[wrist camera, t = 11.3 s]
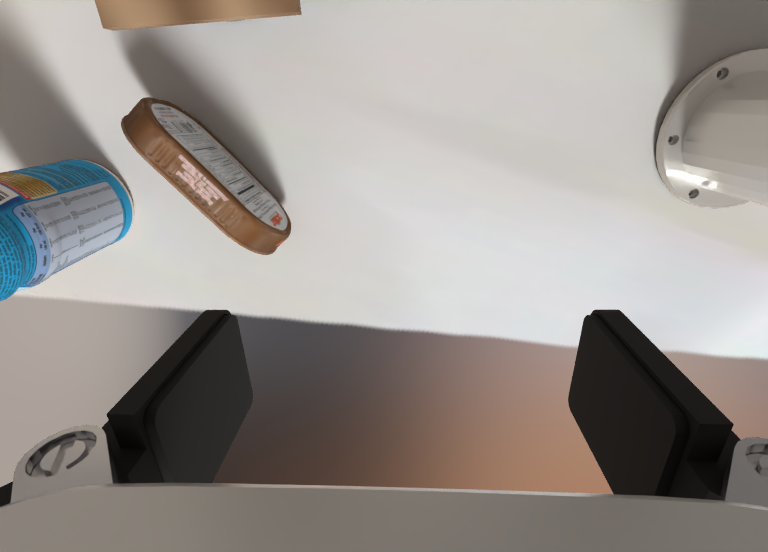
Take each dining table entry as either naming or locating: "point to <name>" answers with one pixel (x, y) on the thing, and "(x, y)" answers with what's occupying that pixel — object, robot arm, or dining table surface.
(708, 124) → the robot arm
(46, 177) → the beverage bottle
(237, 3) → the lid
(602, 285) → the dining table surface
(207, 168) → the tin
